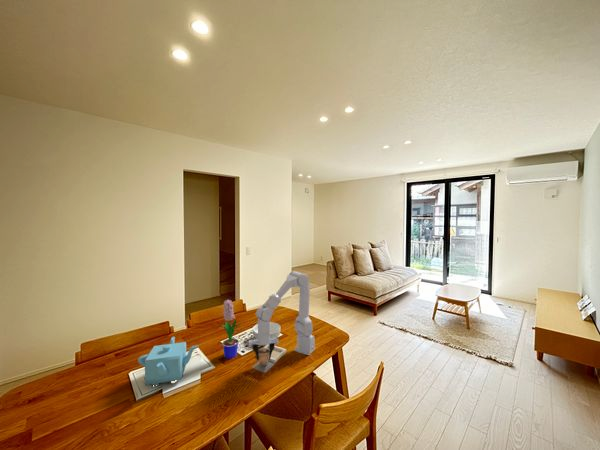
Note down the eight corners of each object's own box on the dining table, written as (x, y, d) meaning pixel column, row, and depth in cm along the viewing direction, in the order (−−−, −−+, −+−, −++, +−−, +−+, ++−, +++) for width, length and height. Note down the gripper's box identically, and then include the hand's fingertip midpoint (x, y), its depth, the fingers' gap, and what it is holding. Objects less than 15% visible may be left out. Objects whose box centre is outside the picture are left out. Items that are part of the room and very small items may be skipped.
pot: (270, 359, 118) (270, 347, 117) (267, 366, 113) (267, 354, 112) (260, 358, 119) (260, 346, 118) (256, 365, 114) (257, 353, 113)
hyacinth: (237, 361, 119) (236, 303, 118) (218, 359, 121) (218, 301, 120) (244, 352, 128) (244, 297, 127) (227, 350, 130) (226, 296, 129)
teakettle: (134, 383, 104) (134, 350, 103) (175, 360, 120) (174, 332, 120) (159, 399, 94) (159, 363, 94) (199, 372, 111) (199, 341, 110)
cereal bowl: (278, 346, 133) (278, 334, 133) (249, 346, 134) (249, 334, 133) (281, 332, 150) (281, 321, 150) (255, 331, 151) (255, 321, 150)
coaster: (275, 364, 117) (275, 363, 117) (265, 373, 110) (265, 372, 110) (262, 359, 121) (262, 358, 121) (252, 368, 114) (252, 367, 114)
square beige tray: (286, 352, 127) (286, 349, 127) (274, 363, 118) (274, 360, 118) (268, 346, 133) (268, 343, 133) (255, 357, 123) (255, 353, 123)
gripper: (278, 326, 120) (278, 353, 120) (249, 328, 118) (249, 355, 118) (278, 333, 113) (278, 361, 113) (248, 335, 111) (248, 363, 111)
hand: (263, 358), depth 115 cm, fingers closed on pot, 5 cm apart
